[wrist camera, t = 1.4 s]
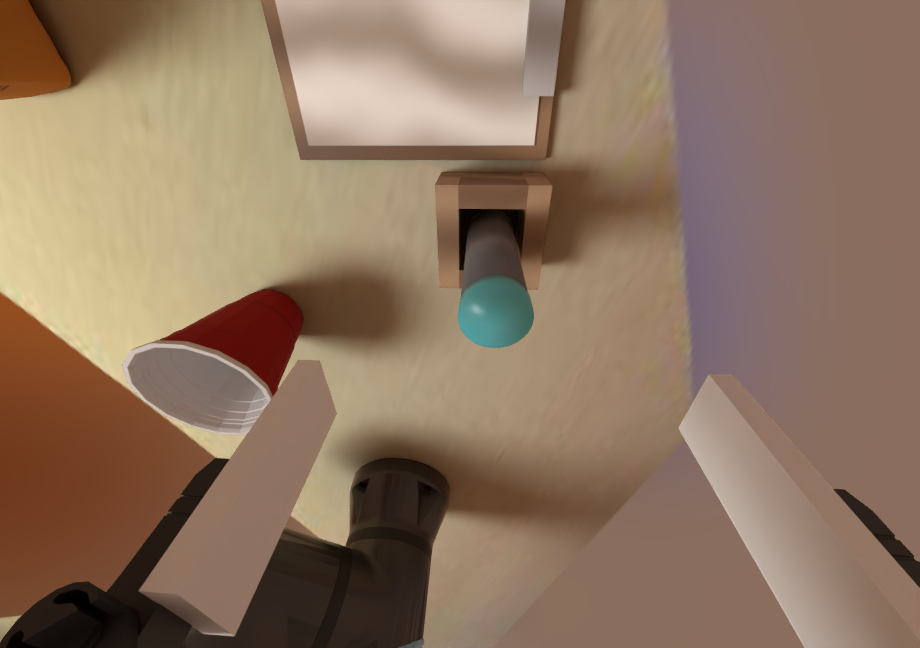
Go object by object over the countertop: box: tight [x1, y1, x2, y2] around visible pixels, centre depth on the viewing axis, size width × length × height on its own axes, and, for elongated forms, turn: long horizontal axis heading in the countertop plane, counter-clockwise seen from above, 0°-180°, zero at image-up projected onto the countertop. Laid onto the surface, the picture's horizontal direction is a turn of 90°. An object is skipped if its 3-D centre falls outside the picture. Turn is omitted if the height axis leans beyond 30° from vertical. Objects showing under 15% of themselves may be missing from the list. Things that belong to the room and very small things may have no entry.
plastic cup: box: [122, 290, 303, 435], centre depth 31 cm, size 11×11×12 cm
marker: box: [458, 210, 534, 348], centre depth 23 cm, size 4×4×15 cm
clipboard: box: [261, 0, 566, 160], centre depth 22 cm, size 13×19×2 cm
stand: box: [435, 172, 553, 290], centre depth 27 cm, size 8×8×4 cm
